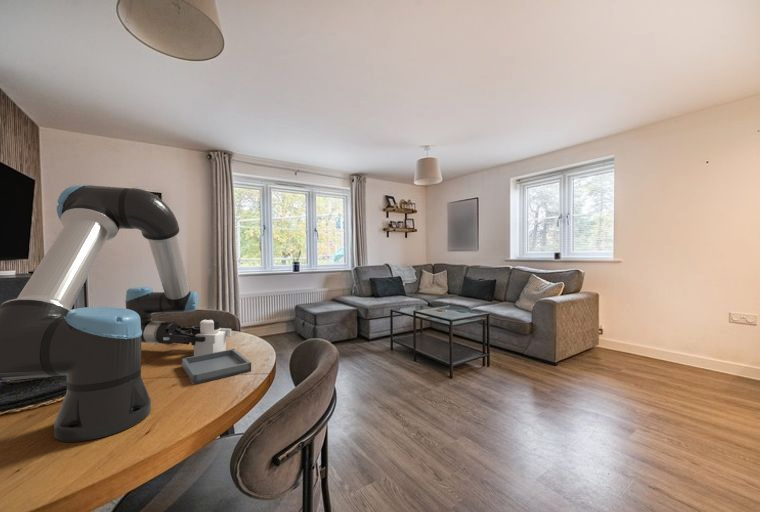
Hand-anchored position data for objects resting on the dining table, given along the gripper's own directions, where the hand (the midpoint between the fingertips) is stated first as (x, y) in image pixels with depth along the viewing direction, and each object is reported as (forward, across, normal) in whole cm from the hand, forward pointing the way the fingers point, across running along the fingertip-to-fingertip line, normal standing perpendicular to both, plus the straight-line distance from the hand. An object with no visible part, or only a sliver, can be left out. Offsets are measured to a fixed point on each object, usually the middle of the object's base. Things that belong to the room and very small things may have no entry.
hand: (223, 335), depth 107 cm
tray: (+6, +12, -6) cm, 15 cm away
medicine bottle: (-5, 0, -7) cm, 8 cm away
